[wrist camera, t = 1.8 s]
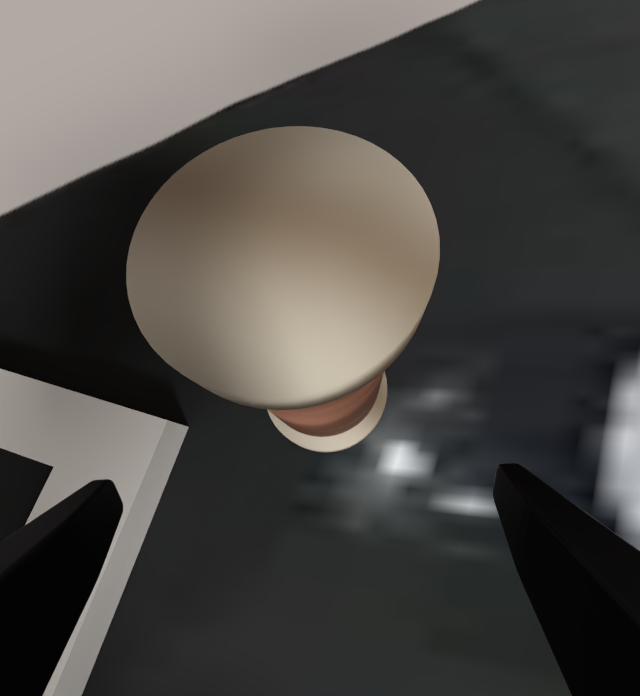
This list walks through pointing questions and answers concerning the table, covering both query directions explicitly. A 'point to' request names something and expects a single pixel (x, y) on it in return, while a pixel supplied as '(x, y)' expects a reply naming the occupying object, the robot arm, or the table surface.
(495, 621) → the table surface
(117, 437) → the notched board
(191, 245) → the bobbin
